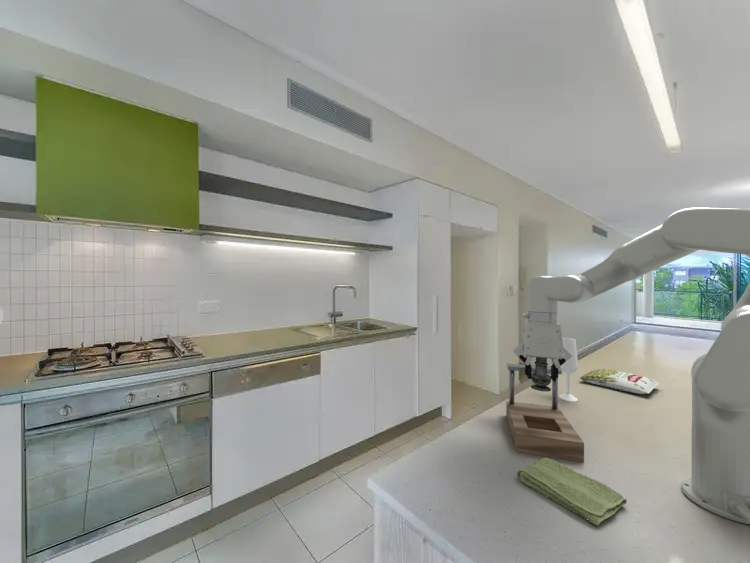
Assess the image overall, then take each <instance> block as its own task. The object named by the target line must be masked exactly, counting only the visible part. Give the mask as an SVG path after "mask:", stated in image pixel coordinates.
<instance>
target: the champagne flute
mask: <svg viewBox="0 0 750 563" xmlns="http://www.w3.org/2000/svg"><path fill="white" fill-rule="evenodd" d="M562 339H563V347H564V348H565V349H566V350H567V351H568V352H569V353H570V354H571V355H572V357H571V358H570V359H569V360H567V361H566V362H565V363H564V364H562V365H561V366H560V369H561V370H562V372H563V373H564V374H566V393H563V394H560V395H558V399H561V400H563V401H567V402H578V401H579V399H578V398H577V397H576V396H574V395H572V393H571V375H573V374H574V373H576V372H577V370H579V359H578V350H577V342H576V341H577V340H576V339H575V338H570V337H562ZM563 356H564V354H563Z"/></svg>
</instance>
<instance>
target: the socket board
mask: <svg viewBox="0 0 750 563" xmlns="http://www.w3.org/2000/svg"><path fill="white" fill-rule="evenodd" d="M505 403H506V406H505V413H506V414H505V417H506V420H507V424H508V427H509V431H510V435H511V437H512V441H513V445H514V448H515V451H516V452H518V453H522V454H523V453H525V454H530V455H536V456H541V457H546V458H554V459H555V458H556V459H560V460H561V459H562V460H567V461H573V462H581V463H585V442H584V441H583V439H582V438H581V437H580V435H579V434H578V433H577V431H576V430H575V428H574V427H573V425H572V424H571V423H570V422H569V420H568V419H567V417H566V416H565V415H564V413H563V412H562V410H561V409H560V407H558V410H554V409H552V405H550V406H549V405H544V404H535V403H525V402H516V401H514V405H511V404H509V401H508V400H507V401H506V402H505Z"/></svg>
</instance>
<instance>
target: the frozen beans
mask: <svg viewBox="0 0 750 563" xmlns="http://www.w3.org/2000/svg"><path fill="white" fill-rule="evenodd" d="M579 379H581V380H582V381H584V382H587V383H590V384H593V385H597V386H600V387H606V388H609V387H610V388H609V389H613V388H614V390H617V389H618V391H622V392H627V393H632V394H638V395H645V394H650V393H651V392H652V391H653V389H654V388H656V387H657V386H658V385H660V384H661V382H659V381H658V380H655V379H652V378H650V377H646V376H643V375H639V374H634V373H629V372H624V371H620V370H619V371H618V370H615V369H614V370H613V369H608V368H607V369H606V368H598V369H593V370H591V371H589V372H587V373H585V374H584V375H582V376H580V377H579Z"/></svg>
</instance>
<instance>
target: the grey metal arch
mask: <svg viewBox="0 0 750 563" xmlns="http://www.w3.org/2000/svg"><path fill="white" fill-rule="evenodd" d="M530 365H531V364H530ZM506 368H507V370H509V378H508V379H509V384H508V387H509V391H508V392H509V393H508V394H509V395H508V397H509V398H508V400H509V404H511V405H514V402H515V381H516V380H515V376H516V375H515V371H516V372H518V371H519V372H525V364H518V363H508V362H507V363H506ZM531 373H535V365H533V364H532V365H531ZM547 373H548V374H550V375H551V366H547ZM558 375H563V370H562V369H561V368H558ZM558 384H559V377H558V378H556V382H554V381H553V380H552V379H551V406H552V409H554V410H558V408H559V407H558V403H559V402H558V400H559V393H558V392H559V386H558Z"/></svg>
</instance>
